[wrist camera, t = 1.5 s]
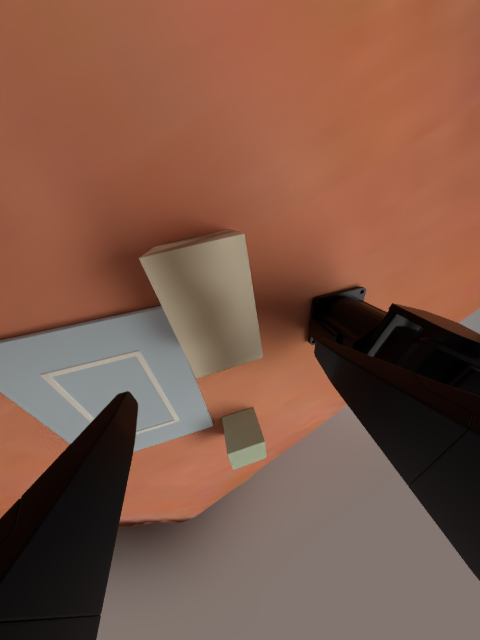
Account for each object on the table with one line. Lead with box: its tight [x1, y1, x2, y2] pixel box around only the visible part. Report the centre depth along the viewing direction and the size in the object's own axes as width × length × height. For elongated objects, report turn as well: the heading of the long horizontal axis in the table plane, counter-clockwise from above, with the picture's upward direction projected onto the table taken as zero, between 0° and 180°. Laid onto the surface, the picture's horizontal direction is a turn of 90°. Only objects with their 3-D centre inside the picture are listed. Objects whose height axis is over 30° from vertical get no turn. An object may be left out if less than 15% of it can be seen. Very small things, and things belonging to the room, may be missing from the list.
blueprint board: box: [0, 306, 213, 452], centre depth 20 cm, size 16×20×1 cm
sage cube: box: [222, 407, 267, 470], centre depth 26 cm, size 5×5×5 cm
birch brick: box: [139, 229, 263, 379], centre depth 15 cm, size 6×10×5 cm, turn 11°
